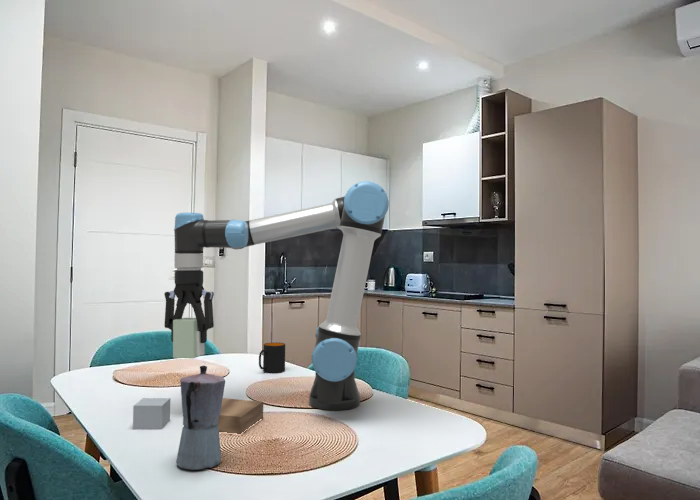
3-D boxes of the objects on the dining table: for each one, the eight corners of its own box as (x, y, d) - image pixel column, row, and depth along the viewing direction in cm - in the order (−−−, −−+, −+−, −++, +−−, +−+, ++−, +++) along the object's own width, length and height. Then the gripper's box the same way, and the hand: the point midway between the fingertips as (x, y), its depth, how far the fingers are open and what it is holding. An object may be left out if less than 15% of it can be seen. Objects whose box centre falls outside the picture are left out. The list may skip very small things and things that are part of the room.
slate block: (169, 421, 134) (170, 398, 134) (161, 429, 127) (162, 405, 127) (142, 421, 134) (143, 398, 134) (132, 429, 127) (133, 405, 127)
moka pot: (230, 450, 114) (231, 360, 114) (214, 480, 98) (216, 375, 99) (186, 450, 113) (188, 359, 114) (163, 480, 98) (166, 375, 98)
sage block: (204, 354, 141) (204, 318, 142) (193, 358, 136) (193, 320, 136) (184, 353, 143) (184, 317, 143) (173, 357, 137) (173, 320, 137)
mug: (251, 373, 192) (251, 345, 193) (274, 368, 202) (274, 341, 202) (266, 376, 187) (267, 347, 188) (289, 371, 197) (289, 344, 197)
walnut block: (263, 420, 137) (263, 401, 137) (240, 437, 123) (240, 416, 123) (215, 415, 140) (215, 397, 140) (187, 432, 126) (188, 412, 126)
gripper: (227, 269, 141) (227, 353, 141) (165, 269, 145) (165, 351, 145) (214, 269, 134) (214, 358, 133) (149, 269, 138) (149, 356, 137)
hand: (189, 354), depth 139 cm, fingers closed on sage block, 6 cm apart
